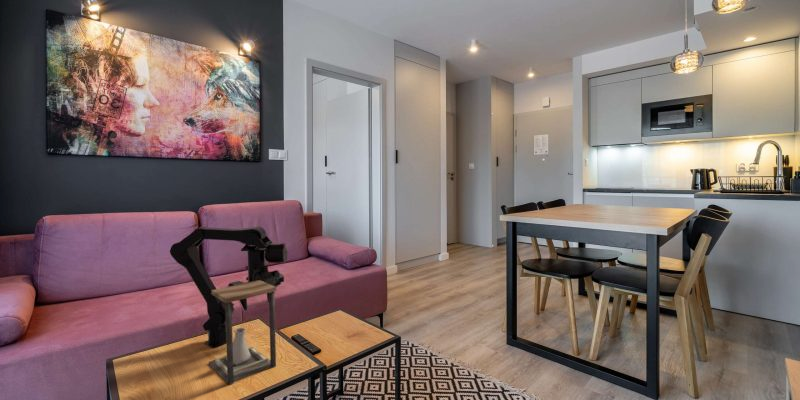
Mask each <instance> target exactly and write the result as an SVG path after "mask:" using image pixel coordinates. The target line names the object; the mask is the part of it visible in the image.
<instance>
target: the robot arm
mask: <svg viewBox="0 0 800 400" xmlns="http://www.w3.org/2000/svg"><path fill="white" fill-rule="evenodd" d="M205 240H213V241H214V240H216V241H234V242H237V243H238V242H239V243H241V244H244V246H243V247H242V248H241V249H240V251H241V252H247V256H246V257H247V265H245V269H246V270H247V277H245V278H246V279H245V280H246V282H244V281H240V280H236V281H233V282H229V283H228V285H227V287H229V286H234V285H239V284H243V283H248V282H253V281H257V280H261V281H263V282H266V283H268V284H270V285H272V286H275V287H276V288H277V287H278V286H280V285H281V284H282V283H284V282H285V276H284V274H283V273H280V271H279V270H278V269H277V270H272V271H269V267H268V265H267V264H266V262H268V263H269V264H275V263H276V264H278V263H280V264H281V263H282V264H285V263H286V262H287V261H288V253H289V252H288V249H287V247H286V243H285V242H284V243H283V242H281V243H273V241H271V239H270V238H269V237H268V235H267V232H266V230H265V228H263V227H262V226H251V227H243V228H222V227H208V226H199V227H198V228H195V229H194V230H193V231H192V232H191V233H190V234H188V235H187V236H186V237H184V238H183V239H181V240H180V241H178V242H176V243H173V244H172V245H171V246H170V249H169V254H170V256H171V257H172V258H173V259H174V261H176V263H177V264H179V265H180V266H182V267H183V268H185V269H186V271H187V273H188V274H189V276H190V278H191V280H192V282H193V283H194V285H195V286H196V287H197V290H198V292H199V293H200V294H201V296H202V298H203V299H204V301H205V303H206V311H207V314H208V319H207V321H205V322H204V323H203V324H202V328H203V329H204V331H205V332H206V331H207V334H208V335H207V336H208V338H207V340H205V341H204V342H203V343H204V344H205V345H207V346H208V347H210V348H211V349H213V348H214V349H215V348H217V347H221V346H222V345H225V344H226V312H225V302H223V301H222V300H220V299H218V298H217V297H215V296H214V295H212V292H211V290H215V289H217V288H216V286H215V284H214V282H213V280H212V279H211V277H210V276H209V274H208V272H207V271H206V269H205V267H204V266H203V264H202V263H201V260H200V251H199V249H198V247H199V246H200V245H201V244H202V243H203V242H204V241H205ZM247 299H248V298H246V299H241V300H238V301H239V303H240V304H241V306H242V308H243V310H244V311H247V310H248V302H247V301H248V300H247ZM266 299H267V300H266V301H267V303H268V304H269V293H266ZM231 303H232V316H233V315H234V313H235V308H234V306H235V304H234V303H233V302H231Z"/></svg>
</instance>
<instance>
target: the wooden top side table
mask: <svg viewBox="0 0 800 400" xmlns="http://www.w3.org/2000/svg"><path fill="white" fill-rule="evenodd" d="M247 282H248V281H247ZM276 291H277V287H275V286H272V285H270V284H268V283H266V282H263V281H261V280H257V281H253V282H248V283H245V282H244V283H243V284H239V285H234V286H229V287H228V286H225V287H219V288H216V289H215V290H211V292H212V295H214V296H215V297H217V298H218V299H220V300H222V301H223V302H225V312H226V343H225V344H226V355H227V360H226V355H223V356H220V357H218V358H214V359H213V360H210V361H208V365H210V367H212V368H213V370H214V371H215V372H217V374H219V376H221V378H223V379H224V381H225V382H226V383H227V385H228V386H231V385H233V384H235V382H236V381H237V382H238V381H239V380H241V379H244V378H245V379H246V378H248V377H249V376H252V375H255V374H257V373H260V372H263V371H265V370H268V369H270V368H275V367H276V366H277V352H276V350H277V347H276V346H277V345H276V308H275V307H276V305H275V304H276V302H275V298H276V297H275V294H276ZM267 293H269V303H268V306H269V307H268V308H269V309H268V310H269V313H268V314H269V353H270V355H269V356H270V357H269V358H270V359H269V358H268V357H266V356H265V355H264V354H263V353H261V352H260V351H259V350H257V349H255V348H254V347H253V346H250V347H248V349H249V352H250V354H251V358H250V359H249V360H248V361H247V362H245V363H242V364H239V365H234V364H233V341H234V339H233V315H232V303H233V302H237V301H239V300H241V299H246V298H247V299H250V298H253V297H254V298H255V297H257V296H261V295H265V294H266V295H267ZM231 302H232V303H231Z"/></svg>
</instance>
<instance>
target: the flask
mask: <svg viewBox="0 0 800 400" xmlns="http://www.w3.org/2000/svg"><path fill="white" fill-rule="evenodd" d="M246 331H247V330H246V328H245V327H242V326H241V327H236V328H235V329H234V331H233V332H234V339H233V364H234V365H239V364H242V363H245V362H247V361H248V360H249V359H250V358H251V354H250V352H249V349H248V348H249V347H248V344H247V341H246V335H245V334H246ZM225 356H226V360H227V354H226V355H225Z"/></svg>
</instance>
